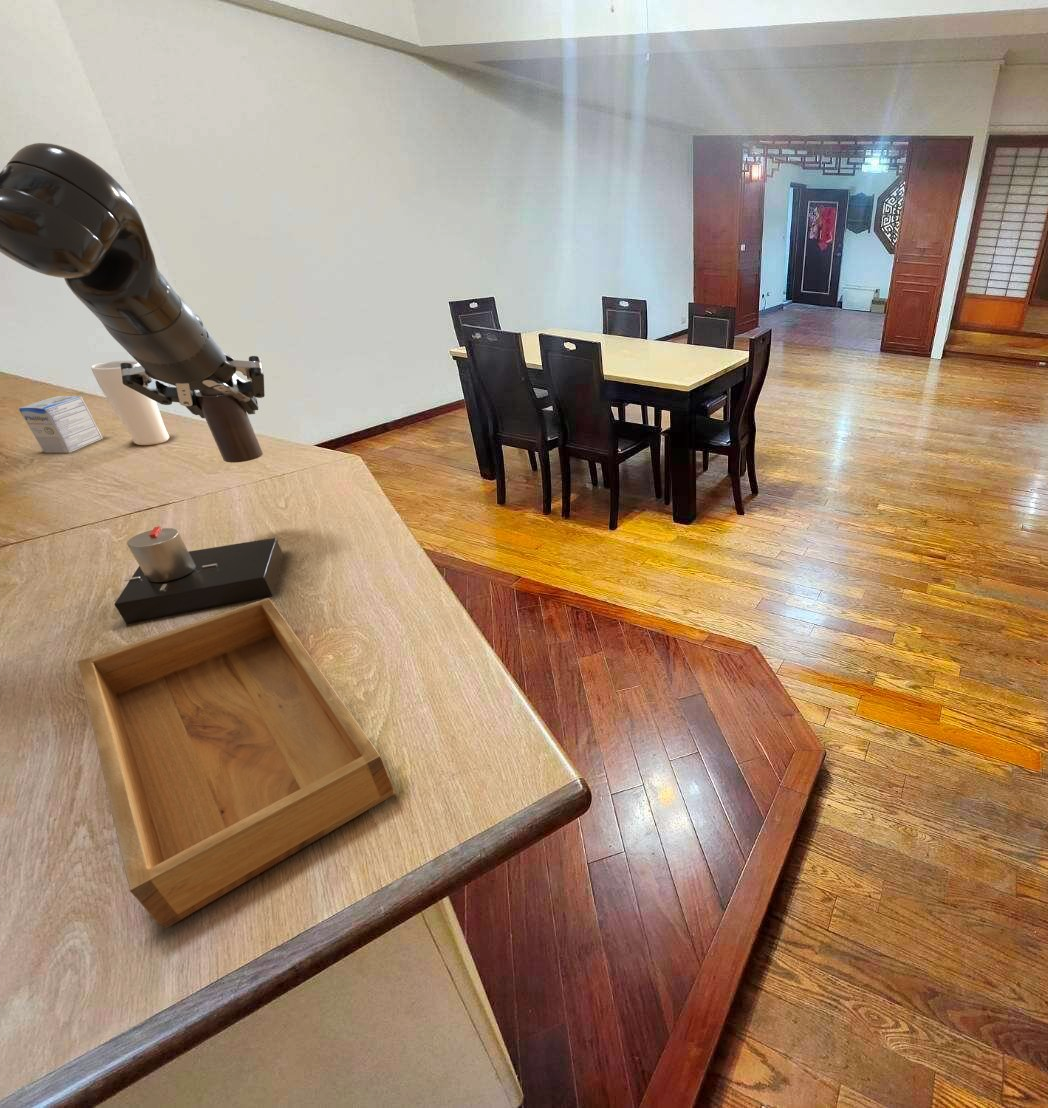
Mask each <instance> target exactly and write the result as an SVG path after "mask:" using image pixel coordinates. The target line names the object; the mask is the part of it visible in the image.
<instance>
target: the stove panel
mask: <svg viewBox="0 0 1048 1108" xmlns="http://www.w3.org/2000/svg"><path fill="white" fill-rule="evenodd" d="M188 552H189V554H190V556H191V557H192V559H193V561H194V563H195V565H196V567H195V569H194V570H193V571H192V572H191V573H190V574H188V575H186V576H184V577H181V578H178V579H175V580H171V581H167V582H151V581H148V580H147V578H146V576H145V575H144V573H143V571H142V569H141V568H140V566H139V565H138V567H137V568H136V570H135V572H134V573H133V575H132V576H131V577H128V578H124V580H123V581H124V582H127V584H126V585H125V587H124V588H123V590H122V591H121V592H120V595H119V596H118V598H116V601H115V602H114V606H115V608H116V610H117V611H118V613H119V614H120V616H121V618H122V619H123V621H124V623H125V624H126V625H133V624H138V623H141V622H147V621H152V620H153V621H154V620H157V619H164V618H168V617H173V616H179V615H184V614H188V613H194V612H198V611H204V610H209V609H214V608H215V609H216V608H220V607H225V606H226V607H227V606H230V605H236V604H241V603H245V602H251V601H258V600H263V599H266V598H272V597H274V593H275V589H276V585H277V582H278V578H279V575H280V571H281V568H282V564H283V560H284V557H285V555H284V553H283V550H282V548H281V546H280V544H279V541H278V538H277V537H272V538H266V539H265V538H264V539H259V540H253V541H252V540H251V541H246V542H240V543H234V544H226V545H221V546H214V547H209V548H201V549H196V550H190V551H189V550H188Z"/></svg>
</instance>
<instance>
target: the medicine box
mask: <svg viewBox="0 0 1048 1108" xmlns="http://www.w3.org/2000/svg"><path fill="white" fill-rule="evenodd" d="M18 410H19V413H20V414H21V416H22V418H23V419H24V420H25V423H26V424H27V427H29V430H30V431H31V433H32V434H33V436H34V437H35V439H36V442H37V443H38V444H39V446H40V448H41V450H42V451H43V452H44V453H46V454H71V453H72V452H75V451H78V450H80V449H82V448H85V447H87V446H89V445H91V444H93V443H96V442H98V441H101V440H103V439H104V438H103V436H102V434H101V432H100V430H99V428H98V426H97V424H96V422H95V420H94V418H93V416H92V414H91V411H90V410H89V409H88V406H87V404H86V403H85V401H84V399H83V397H82V396H72V395H56V396H51V397H49V398H45V399H43V400H39V401H36V402H33V403H30V404H27V405H24V406H21V407H19V408H18Z"/></svg>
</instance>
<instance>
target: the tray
mask: <svg viewBox="0 0 1048 1108" xmlns="http://www.w3.org/2000/svg"><path fill="white" fill-rule="evenodd" d="M77 665H78V669H79V674H80V678H81V683H82V687H83V693H84V696H85V701H86V704H87V709H88V713H89V719H90V722H91V725H92V730H93V735H94V738H95V742H96V746H97V752H98V756H99V760H100V764H101V769H102V773H103V778H104V782H105V787H106V792H107V797H108V802H109V805H110V810H111V814H112V818H113V823H114V827H115V833H116V837H117V842H118V846H119V851H120V854H121V858H122V863H123V868H124V872H125V877H126V880H127V885H128V889H129V892H130V893H131V894H132V895H133V896H134V897H135V898H136V900H137V901H138V902H139V903H140V904H141V906H143V908H144V909H145V910H146V912H148V914H149V915H150V916H151V917H152V918H153V920H155V922H156V923H157V924H160V925H161V926H162V927H163V928H165V929H167V928H169V927H172V926H174V925H175V924H177V923H178V922H180V921H181V920H183V919H184V918H186V917H188V916H190V915H191V914H193V913H195V912H197V911H198V910H200V909H201V908H204V907H205V906H207V905H209V904H210V903H213V902H214V901H215V900H217V899H220V897H222V896H224V895H226V894H228V893H229V892H231V891H232V890H234V889H236V888H238V887H239V886H241V885H242V884H243V885H244V883H246V882H248V881H250V880H251V879H253V878H255V877H256V876H259V875H260V874H262V873H264V871H266V870H268V869H270V868H272V867H273V866H275V865H276V864H278V863H280V862H282V861H284V860H285V859H287V858H289V857H291V856H292V855H295V853H297V852H299V851H300V850H302V849H304V848H306V847H308V846H309V845H311V844H312V843H314V842H316V841H318V840H320V839H321V838H323V837H324V836H326V835H328V834H329V833H331V832H333V831H334V830H336V829H338V828H339V827H342V826H344V824H346V823H348V822H350V821H351V820H353V819H355V818H357V817H358V816H360V815H362V814H364V813H365V812H367V811H368V810H371V809H372V808H374V807H375V806H377V805H379V804H380V803H382V802H384V801H385V800H387V799H389V798H391V797H393V796H394V795H395V790H394V787H393V784H392V783H393V782H392V780H391V778H390V776H389V773H388V770H387V768H386V765H385V763H384V760H383V759H382V756H381V754H380V753H379V752H378V750H377V748H376V747H375V745H374V744H373V743H372V741H371V740H370V738H369V737H368V736H367V734H366V733H365V731H364V730H363V729H362V727H361V726H360V724H359V723H358V721H357V720H356V718H355V717H354V716H353V714H352V712H351V711H350V710H349V708H348V707H347V706H346V704H345V703H344V701H343V700H342V698H341V697H340V695H338V693H337V691H336V690H335V689H334V687H333V685H331V683H330V682H329V680H328V679H327V678H326V676H325V674H324V673H323V672H322V670H321V668H319V666H318V664H317V663H316V662H315V660H314V659H313V658H312V656H311V654H310V653H309V652H308V650H307V649H306V648H305V646H304V644H303V643H302V642H301V641H300V639H299V637H298V636H297V635H296V633H295V632H294V630H293V629H292V627H291V626H290V625H289V623H288V622H287V620H286V618H284V617H283V615H282V614H281V613H280V611H279V610H278V608H277V607H276V605H275V604H274V603H273V601H272V599H270V597H267V598H262V599H259V600H256V601H255V602H251V603H248V604H245V605H242V606H239V607H236V608H233V609H230V610H227V611H224V612H221V613H218V614H215V615H212V616H209V617H206V618H203V619H199V620H196V621H194V622H190V623H188V624H185V625H182V626H179V627H176V628H173V629H170V630H167V631H164V632H161V633H158V634H155V635H152V636H149V637H146V638H143V639H141V640H138V641H135V642H131V643H129V644H125V645H122V646H119V647H117V648H113V649H110V650H108V651H105V652H101V653H98V654H95V655H93V656H90V657H86V658H84V659H81V660H79V661H77Z"/></svg>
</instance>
